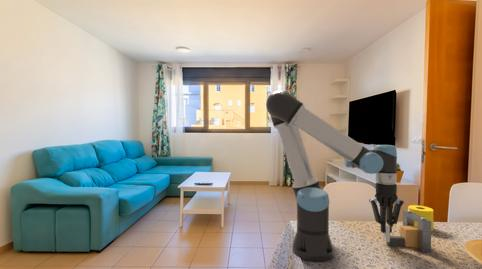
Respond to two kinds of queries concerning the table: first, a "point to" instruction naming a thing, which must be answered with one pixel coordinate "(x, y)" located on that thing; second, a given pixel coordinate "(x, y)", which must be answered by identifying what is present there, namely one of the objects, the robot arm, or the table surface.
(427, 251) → the gray arch block
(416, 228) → the plug
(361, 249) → the table surface
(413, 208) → the tape roll
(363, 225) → the table surface
